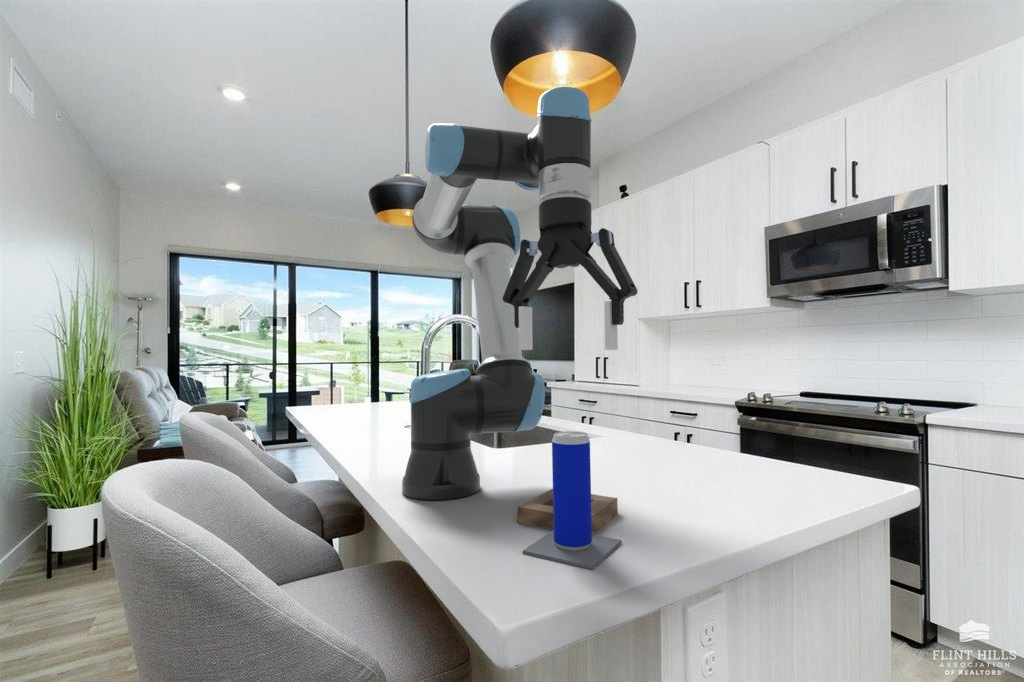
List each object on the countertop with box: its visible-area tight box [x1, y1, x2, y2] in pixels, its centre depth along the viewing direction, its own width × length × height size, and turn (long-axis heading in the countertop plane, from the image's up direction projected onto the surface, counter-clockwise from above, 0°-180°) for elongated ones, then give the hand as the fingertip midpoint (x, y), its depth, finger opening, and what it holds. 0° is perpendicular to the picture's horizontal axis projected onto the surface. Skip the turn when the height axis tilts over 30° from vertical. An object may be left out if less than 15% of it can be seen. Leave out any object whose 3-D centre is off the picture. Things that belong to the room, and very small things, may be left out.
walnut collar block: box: [516, 488, 619, 534], centre depth 81 cm, size 12×12×2 cm
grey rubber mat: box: [522, 529, 622, 570], centre depth 68 cm, size 10×10×1 cm
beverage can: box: [551, 430, 593, 551], centre depth 69 cm, size 5×5×15 cm
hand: (566, 350), depth 72 cm, fingers open, 13 cm apart
